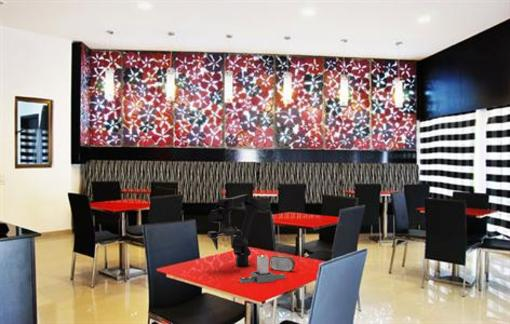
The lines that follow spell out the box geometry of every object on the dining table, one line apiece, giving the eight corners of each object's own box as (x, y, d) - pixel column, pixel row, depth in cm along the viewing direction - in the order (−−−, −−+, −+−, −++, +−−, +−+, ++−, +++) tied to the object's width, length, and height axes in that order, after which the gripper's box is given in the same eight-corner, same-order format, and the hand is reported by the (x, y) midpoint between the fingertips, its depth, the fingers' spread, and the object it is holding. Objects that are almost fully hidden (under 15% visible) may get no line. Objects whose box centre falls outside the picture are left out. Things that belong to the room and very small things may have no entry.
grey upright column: (257, 279, 229) (257, 254, 229) (265, 278, 231) (265, 254, 231) (260, 281, 225) (260, 256, 225) (268, 280, 227) (268, 255, 226)
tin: (295, 271, 245) (295, 256, 245) (293, 272, 242) (293, 257, 242) (270, 268, 252) (270, 253, 252) (268, 270, 249) (268, 255, 249)
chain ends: (237, 279, 228) (237, 272, 228) (280, 275, 236) (280, 269, 236) (243, 284, 219) (243, 277, 219) (287, 280, 228) (287, 273, 228)
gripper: (214, 223, 236) (214, 253, 236) (246, 221, 244) (246, 250, 244) (206, 221, 245) (206, 249, 245) (237, 219, 254) (237, 246, 254)
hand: (224, 249), depth 247 cm, fingers open, 9 cm apart
